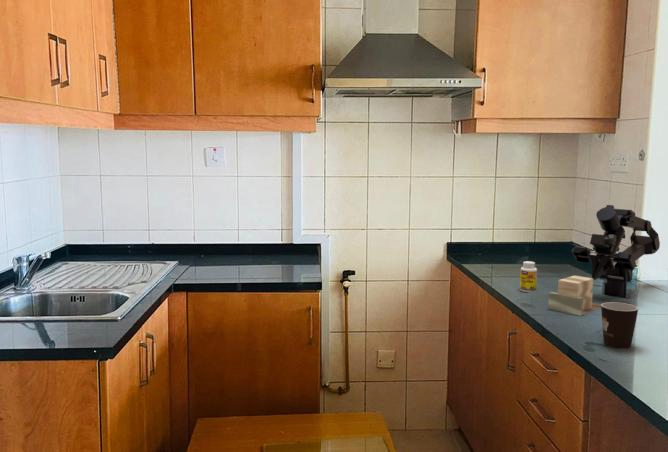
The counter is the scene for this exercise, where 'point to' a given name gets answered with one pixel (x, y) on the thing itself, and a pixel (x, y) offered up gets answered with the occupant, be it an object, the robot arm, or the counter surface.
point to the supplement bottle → (528, 277)
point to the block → (577, 288)
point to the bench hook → (569, 304)
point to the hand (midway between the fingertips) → (593, 278)
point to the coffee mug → (618, 324)
